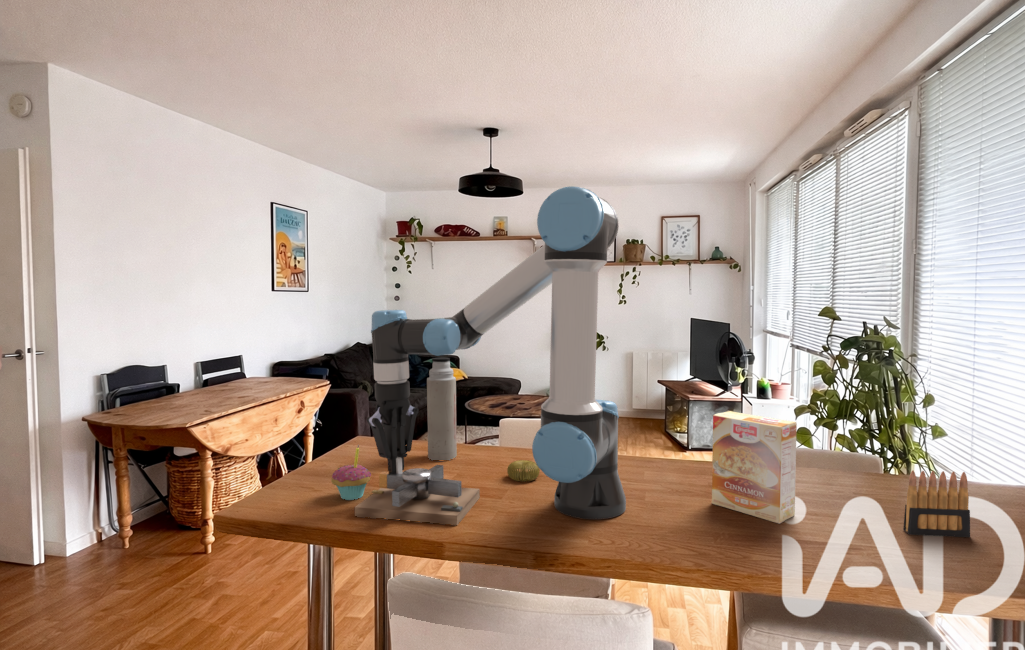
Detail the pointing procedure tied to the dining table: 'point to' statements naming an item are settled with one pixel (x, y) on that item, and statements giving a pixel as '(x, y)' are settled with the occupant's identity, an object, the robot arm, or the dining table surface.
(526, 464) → the sculpture
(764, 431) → the coffeecake box
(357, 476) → the cupcake
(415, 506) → the stand
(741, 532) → the dining table surface
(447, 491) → the capstan
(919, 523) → the ammunition clip
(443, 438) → the thermos bottle
